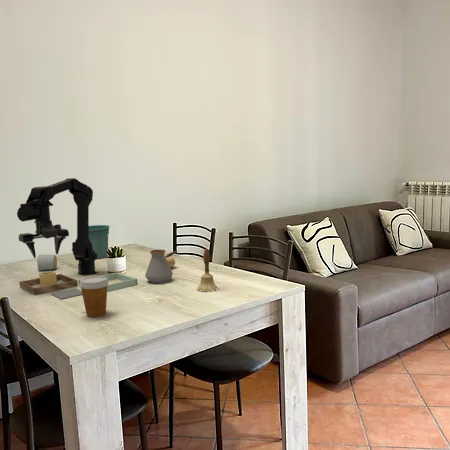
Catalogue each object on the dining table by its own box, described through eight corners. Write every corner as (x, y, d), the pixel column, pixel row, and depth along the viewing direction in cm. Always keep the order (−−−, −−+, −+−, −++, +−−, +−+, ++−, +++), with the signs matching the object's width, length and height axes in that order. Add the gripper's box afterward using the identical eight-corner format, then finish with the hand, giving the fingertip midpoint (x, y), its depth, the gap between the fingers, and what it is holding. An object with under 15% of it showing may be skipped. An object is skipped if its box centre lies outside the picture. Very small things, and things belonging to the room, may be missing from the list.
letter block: (52, 284, 205) (51, 270, 205) (57, 287, 202) (55, 272, 201) (40, 287, 202) (39, 272, 201) (45, 289, 198) (43, 274, 198)
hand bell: (221, 286, 193) (219, 247, 191) (213, 292, 185) (212, 251, 183) (201, 285, 196) (199, 246, 194) (193, 291, 188) (191, 250, 186)
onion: (176, 266, 232) (176, 251, 231) (173, 270, 224) (172, 255, 223) (160, 266, 233) (159, 251, 232) (156, 270, 225) (155, 255, 224)
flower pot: (94, 261, 249) (92, 230, 246) (73, 258, 258) (71, 228, 255) (118, 255, 262) (116, 225, 260) (97, 253, 271) (95, 224, 269)
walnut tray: (61, 279, 214) (60, 273, 214) (77, 286, 202) (77, 280, 201) (19, 287, 202) (19, 281, 202) (34, 295, 190) (34, 289, 190)
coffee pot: (140, 280, 207) (138, 246, 205) (164, 276, 213) (162, 242, 211) (166, 291, 190) (164, 253, 188) (191, 285, 197) (189, 248, 194)
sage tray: (117, 278, 213) (116, 272, 213) (137, 284, 201) (137, 278, 200) (79, 286, 202) (78, 280, 201) (97, 293, 189) (97, 287, 189)
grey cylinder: (56, 270, 231) (54, 254, 230) (37, 272, 229) (36, 256, 228) (58, 266, 241) (57, 251, 240) (41, 267, 240) (39, 252, 239)
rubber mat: (75, 289, 197) (75, 288, 197) (86, 293, 190) (86, 292, 189) (50, 294, 190) (50, 293, 190) (61, 299, 183) (61, 298, 183)
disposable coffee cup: (84, 310, 169) (82, 276, 167) (112, 309, 169) (110, 275, 168) (78, 319, 159) (76, 283, 158) (108, 318, 160) (106, 282, 158)
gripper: (26, 222, 186) (30, 262, 188) (73, 217, 198) (76, 254, 200) (16, 220, 194) (20, 258, 196) (61, 215, 206) (64, 251, 209)
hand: (46, 256), depth 200 cm, fingers open, 9 cm apart
